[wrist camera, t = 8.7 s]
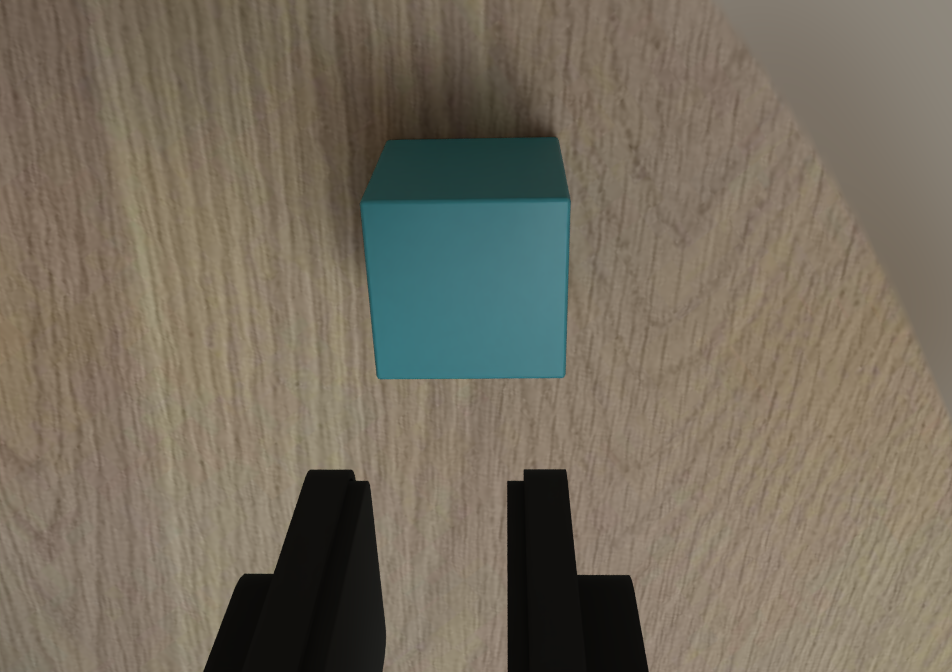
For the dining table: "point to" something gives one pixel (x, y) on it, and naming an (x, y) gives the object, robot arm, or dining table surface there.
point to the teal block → (468, 258)
